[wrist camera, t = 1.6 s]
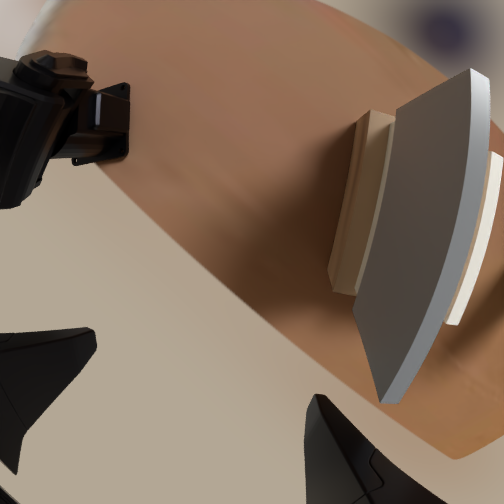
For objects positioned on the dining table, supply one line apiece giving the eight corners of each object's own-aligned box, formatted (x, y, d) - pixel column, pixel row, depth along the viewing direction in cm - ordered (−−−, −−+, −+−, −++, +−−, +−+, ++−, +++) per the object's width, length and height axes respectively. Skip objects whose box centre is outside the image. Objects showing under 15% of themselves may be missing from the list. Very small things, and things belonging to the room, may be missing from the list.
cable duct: (354, 288, 16) (364, 311, 13) (389, 123, 13) (409, 114, 10) (438, 303, 15) (457, 325, 13) (476, 157, 12) (503, 157, 10)
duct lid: (364, 311, 13) (352, 309, 13) (409, 113, 10) (396, 109, 10) (397, 403, 7) (379, 403, 7) (489, 79, 4) (470, 67, 4)
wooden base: (327, 269, 20) (333, 291, 16) (356, 120, 17) (370, 109, 13) (428, 289, 19) (449, 312, 15) (460, 157, 16) (489, 156, 12)
